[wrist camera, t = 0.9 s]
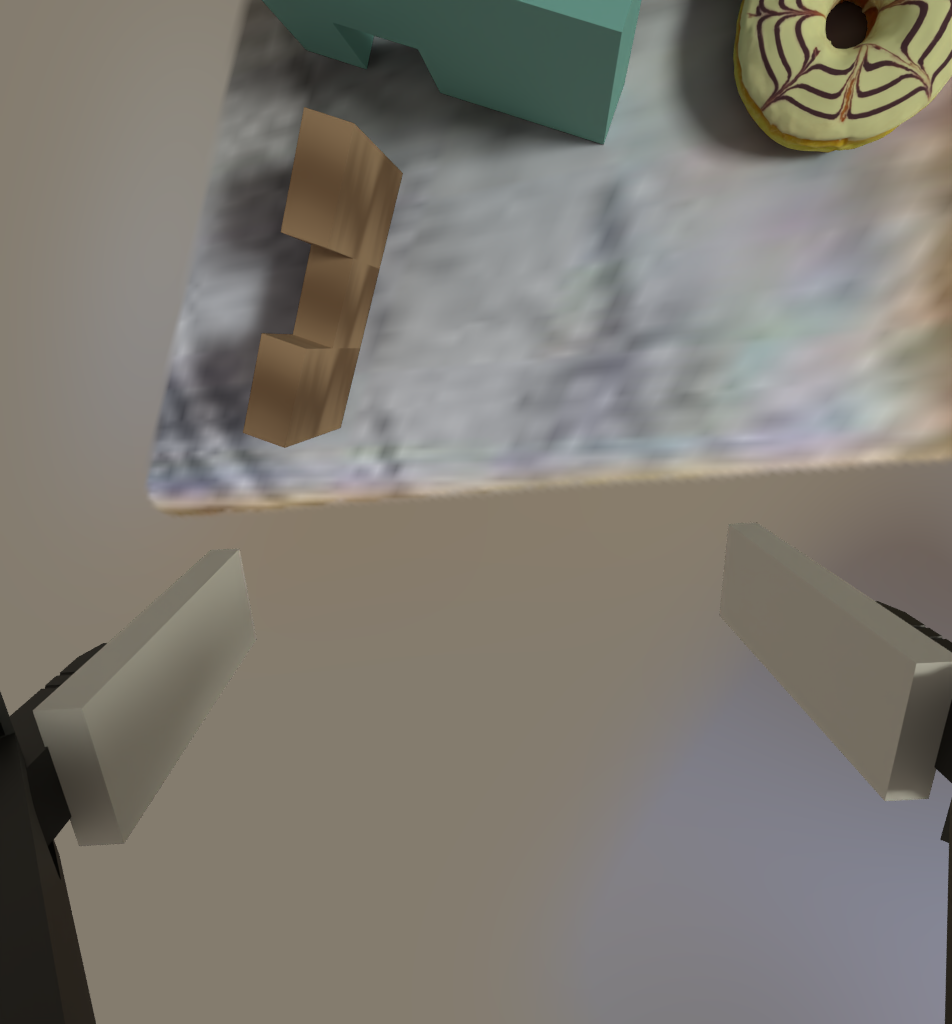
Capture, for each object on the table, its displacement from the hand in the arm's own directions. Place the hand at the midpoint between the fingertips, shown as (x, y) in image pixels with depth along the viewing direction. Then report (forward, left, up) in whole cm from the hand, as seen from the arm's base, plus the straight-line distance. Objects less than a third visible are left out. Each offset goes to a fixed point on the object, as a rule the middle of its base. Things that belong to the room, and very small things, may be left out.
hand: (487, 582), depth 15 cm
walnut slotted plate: (+9, -12, -23) cm, 27 cm away
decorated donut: (-20, -16, -23) cm, 35 cm away
